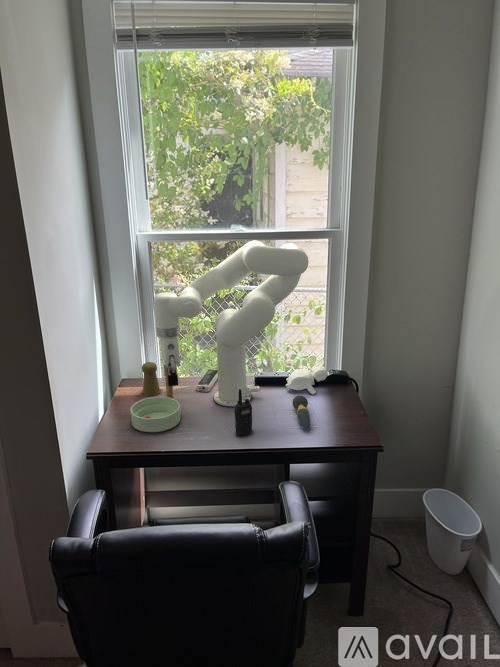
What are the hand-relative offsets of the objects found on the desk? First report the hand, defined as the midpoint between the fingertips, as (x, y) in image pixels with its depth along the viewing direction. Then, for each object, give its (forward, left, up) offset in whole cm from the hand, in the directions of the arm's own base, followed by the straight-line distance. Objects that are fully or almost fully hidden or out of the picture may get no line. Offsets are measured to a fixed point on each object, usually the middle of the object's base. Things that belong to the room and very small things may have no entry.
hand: (171, 380), depth 172 cm
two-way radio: (-17, +27, -8) cm, 33 cm away
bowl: (+7, +12, -8) cm, 16 cm away
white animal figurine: (-47, +5, -8) cm, 48 cm away
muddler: (+1, 0, -8) cm, 8 cm away
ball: (+10, +15, -6) cm, 19 cm away
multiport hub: (-15, -11, -8) cm, 20 cm away
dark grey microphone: (-38, +24, -8) cm, 46 cm away
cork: (+6, -10, -8) cm, 14 cm away
